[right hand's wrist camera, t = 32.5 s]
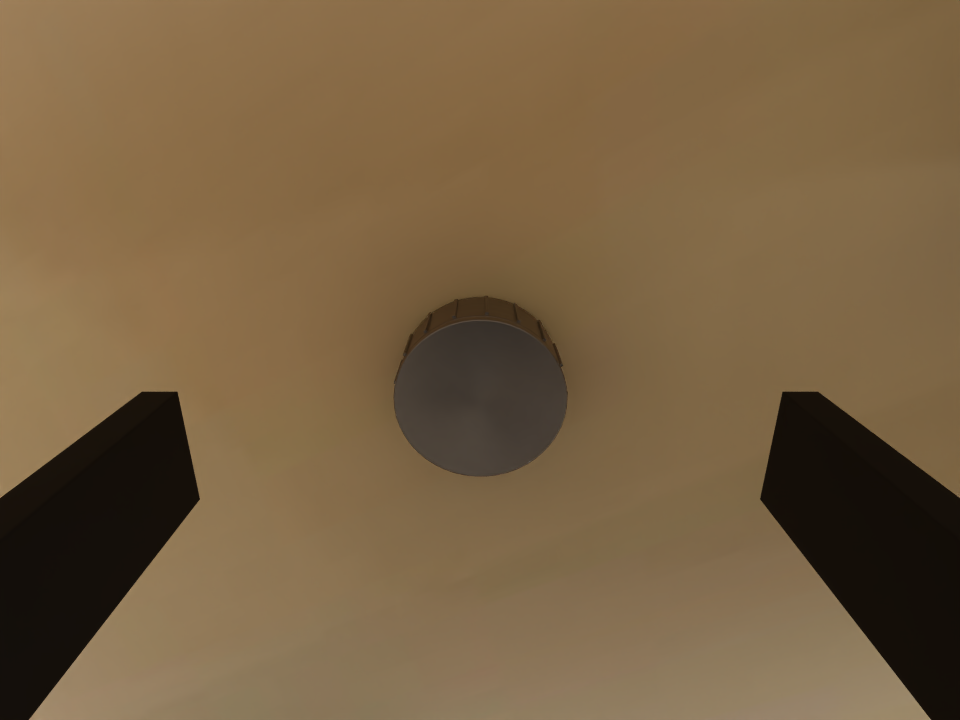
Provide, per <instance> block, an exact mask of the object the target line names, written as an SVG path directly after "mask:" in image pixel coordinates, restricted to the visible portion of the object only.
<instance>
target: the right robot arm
mask: <svg viewBox="0 0 960 720" xmlns="http://www.w3.org/2000/svg"><path fill="white" fill-rule="evenodd" d="M199 500H200V498H199V493H198V488H197V483H196V478H195V474H194V469H193V464H192V459H191V455H190V450H189V445H188V440H187V435H186V431H185V426H184V421H183V416H182V411H181V407H180V402H179V397H178V392H141V393H140V394H138V395H137V396H136V397H134V398H133V399H132V400H130V401H129V402H128V403H126V404H125V405H124V406H122V407H121V408H120V409H118V410H117V411H116V412H114V413H113V414H112V415H110V416H109V417H108V418H106V419H105V420H104V421H102V422H101V423H100V424H98V425H97V426H96V427H94V428H93V429H92V430H90V431H89V432H88V433H86V434H85V435H84V436H82V437H81V438H80V439H78V440H77V441H76V442H74V443H73V444H72V445H70V446H69V447H68V448H66V449H65V450H64V451H62V452H61V453H60V454H58V455H57V456H56V457H54V458H53V459H52V460H50V461H49V462H48V463H46V464H45V465H44V466H42V467H41V468H40V469H38V470H37V471H36V472H34V473H33V474H32V475H30V476H29V477H28V478H26V479H25V480H24V481H22V482H21V483H20V484H18V485H17V486H16V487H14V488H13V489H12V490H10V491H9V492H8V493H6V494H5V495H4V496H3V497H1V498H0V720H29V719H30V718H31V716H32V715H33V714H34V712H35V711H36V710H37V709H38V707H39V706H40V705H41V703H42V702H43V701H44V700H45V698H46V697H47V696H48V694H49V693H50V692H51V690H52V689H53V688H54V687H55V685H56V684H57V683H58V681H59V680H60V679H61V678H62V676H63V675H64V674H65V672H66V671H67V670H68V669H69V667H70V666H71V665H72V663H73V662H74V661H75V660H76V658H77V657H78V656H79V654H80V653H81V652H82V651H83V649H84V648H85V647H86V645H87V644H88V643H89V641H90V640H91V639H92V638H93V636H94V635H95V634H96V632H97V631H98V630H99V629H100V627H101V626H102V625H103V623H104V622H105V621H106V620H107V618H108V617H109V616H110V614H111V613H112V612H113V611H114V609H115V608H116V607H117V605H118V604H119V603H120V602H121V600H122V599H123V598H124V596H125V595H126V594H127V593H128V591H129V590H130V589H131V587H132V586H133V585H134V583H135V582H136V581H137V580H138V578H139V577H140V576H141V574H142V573H143V572H144V571H145V569H146V568H147V567H148V565H149V564H150V563H151V562H152V560H153V559H154V558H155V556H156V555H157V554H158V553H159V551H160V550H161V549H162V547H163V546H164V545H165V544H166V542H167V541H168V540H169V538H170V537H171V536H172V534H173V533H174V532H175V531H176V529H177V528H178V527H179V525H180V524H181V523H182V522H183V520H184V519H185V518H186V516H187V515H188V514H189V513H190V511H191V510H192V509H193V507H194V506H195V505H196V504H197V502H198V501H199ZM760 500H761V501H762V502H763V504H764V505H765V506H766V507H767V509H768V510H769V511H770V513H771V514H772V515H773V516H774V518H775V519H776V520H777V522H778V523H779V524H780V525H781V527H782V528H783V529H784V531H785V532H786V533H787V534H788V536H789V537H790V538H791V540H792V541H793V542H794V544H795V545H796V546H797V547H798V549H799V550H800V551H801V553H802V554H803V555H804V556H805V558H806V559H807V560H808V562H809V563H810V564H811V565H812V567H813V568H814V569H815V571H816V572H817V573H818V574H819V576H820V577H821V578H822V580H823V581H824V582H825V583H826V585H827V586H828V587H829V589H830V590H831V591H832V593H833V594H834V595H835V596H836V598H837V599H838V600H839V602H840V603H841V604H842V605H843V607H844V608H845V609H846V611H847V612H848V613H849V614H850V616H851V617H852V618H853V620H854V621H855V622H856V623H857V625H858V626H859V627H860V629H861V630H862V631H863V632H864V634H865V635H866V636H867V638H868V639H869V640H870V641H871V643H872V644H873V645H874V647H875V648H876V649H877V651H878V652H879V653H880V654H881V656H882V657H883V658H884V660H885V661H886V662H887V663H888V665H889V666H890V667H891V669H892V670H893V671H894V672H895V674H896V675H897V676H898V678H899V679H900V680H901V681H902V683H903V684H904V685H905V687H906V688H907V689H908V690H909V692H910V693H911V694H912V696H913V697H914V698H915V700H916V701H917V702H918V703H919V705H920V706H921V707H922V709H923V710H924V711H925V712H926V714H927V715H928V716H929V718H930V719H931V720H960V498H959V497H957V496H956V495H955V494H954V493H952V492H951V491H950V490H948V489H947V488H946V487H944V486H943V485H942V484H940V483H939V482H938V481H936V480H935V479H934V478H932V477H931V476H930V475H928V474H927V473H926V472H924V471H923V470H922V469H920V468H919V467H918V466H916V465H915V464H914V463H912V462H911V461H910V460H908V459H907V458H906V457H904V456H903V455H902V454H900V453H899V452H898V451H896V450H895V449H894V448H892V447H891V446H890V445H888V444H887V443H886V442H884V441H883V440H882V439H880V438H879V437H878V436H876V435H875V434H874V433H872V432H871V431H870V430H868V429H867V428H866V427H864V426H863V425H862V424H860V423H859V422H858V421H856V420H855V419H854V418H852V417H851V416H850V415H848V414H847V413H846V412H844V411H843V410H842V409H840V408H839V407H838V406H836V405H835V404H834V403H832V402H831V401H830V400H828V399H827V398H826V397H824V396H823V395H822V394H820V393H819V392H782V397H781V402H780V407H779V411H778V416H777V421H776V426H775V431H774V435H773V440H772V445H771V450H770V455H769V459H768V464H767V469H766V474H765V478H764V483H763V488H762V493H761V498H760Z"/></svg>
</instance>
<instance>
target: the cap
mask: <svg viewBox="0 0 960 720" xmlns="http://www.w3.org/2000/svg"><path fill="white" fill-rule="evenodd" d="M403 356H404V357H403V360H401V363H400V366H399V369H398V372H397V375H396V378H395V380H394V384H395V387H394V408H395V413H396V417H397V420H398V423H399V426H400V428H401V430H402V432H403V434H404V436H405V437H406V438H407V440H408V441H409V443H410V444H411V445H412V446H413V447H414V449H415V450H416V451H417V452H418V453H419V454H421V455H422V456H423V457H424V458H425V459H427V460H428V461H430V462H431V463H433V464H435V465H437V466H439V467H441V468H443V469H445V470H448V471H451V472H453V473H457V474H462V475H468V476H493V475H499V474H504V473H508V472H510V471H513V470H516V469H518V468H520V467H522V466H524V465H526V464H528V463H530V462H531V461H533V460H534V459H536V458H537V457H538V456H539V455H540V454H542V453H543V452H544V451H545V450H546V449H547V447H548V446H549V445H550V444H551V443H552V441H553V440H554V439H555V437H556V436H557V434H558V432H559V430H560V428H561V426H562V423H563V420H564V417H565V413H566V408H567V387H566V382H565V378H564V375H563V372H562V369H561V367H562V366H563V365H562V362H561V359H560V356H559V353H558V351H557V348H556V345H555V343H554V344H552V341H551V339H550V337H549V335H548V334H547V332H546V330H545V329H544V328H543V326H542V323H541V321H540V320H538V321H537V320H536V319H535V318H534V317H533V316H532V315H531V314H529V313H528V312H527V311H525V310H524V309H522V308H520V307H518V305H517V304H516V303H514V304H512V303H509V302H507V301H503V300H499V299H494V298H488V296H485V297H475V298H467V299H462V300H458V299H456V300H455V301H454V302H452V303H449V304H447V305H445V306H443V307H441V308H439V309H438V310H436V311H434V312H433V313H431V312H430V313H429V314H428V317H427V318H426V319H425V320H424V321H423V322H422V323H421V324H420V325H419V326H418V328H417V329H416V330H415V332H414V334H411V335H410V337H409V339H408V342H407V345H406V348H405V351H404V354H403Z"/></svg>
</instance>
